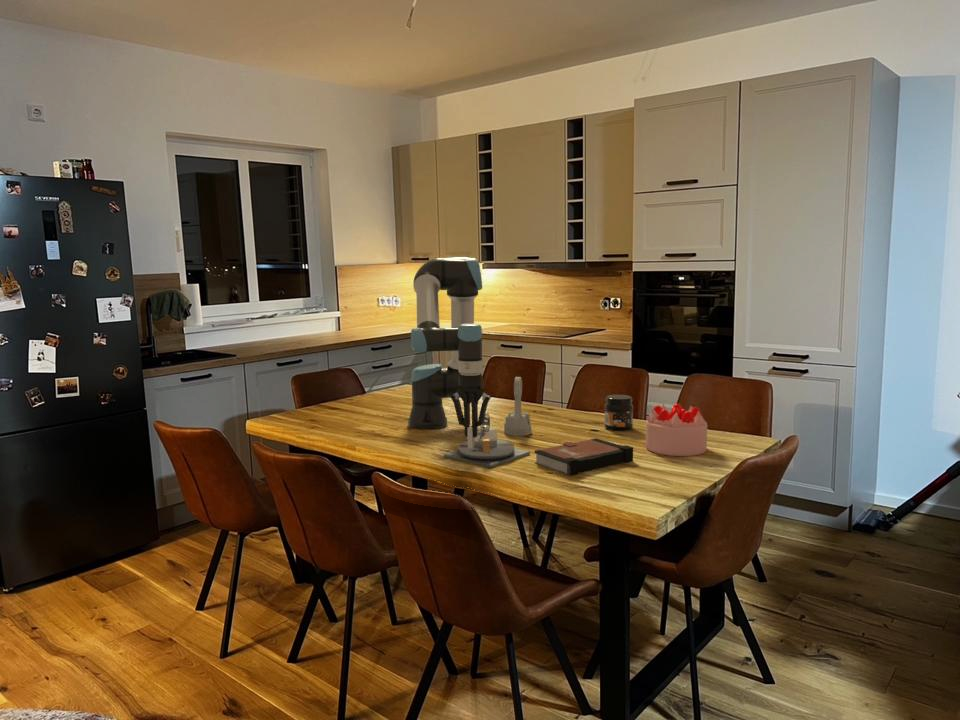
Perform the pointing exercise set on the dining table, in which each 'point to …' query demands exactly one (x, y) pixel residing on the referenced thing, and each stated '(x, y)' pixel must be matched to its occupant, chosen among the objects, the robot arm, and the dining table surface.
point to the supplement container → (618, 413)
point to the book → (583, 456)
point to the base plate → (487, 462)
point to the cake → (676, 431)
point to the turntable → (487, 450)
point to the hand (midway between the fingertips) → (471, 446)
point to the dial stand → (486, 419)
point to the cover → (486, 436)
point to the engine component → (517, 415)
